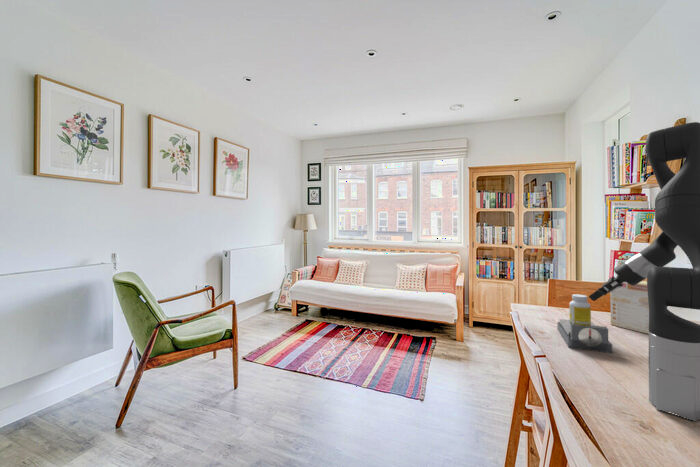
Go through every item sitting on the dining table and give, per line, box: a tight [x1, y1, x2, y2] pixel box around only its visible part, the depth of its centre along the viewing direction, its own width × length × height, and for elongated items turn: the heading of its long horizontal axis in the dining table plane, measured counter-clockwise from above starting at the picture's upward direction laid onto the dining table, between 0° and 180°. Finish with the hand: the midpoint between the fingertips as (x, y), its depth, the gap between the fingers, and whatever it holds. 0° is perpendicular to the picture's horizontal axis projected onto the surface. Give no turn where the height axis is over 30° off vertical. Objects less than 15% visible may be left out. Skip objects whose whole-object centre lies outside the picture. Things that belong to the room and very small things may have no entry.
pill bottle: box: [568, 293, 592, 325], centre depth 113 cm, size 6×6×12 cm
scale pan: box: [558, 318, 596, 336], centre depth 112 cm, size 16×11×1 cm, turn 154°
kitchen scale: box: [556, 321, 613, 354], centre depth 110 cm, size 21×12×8 cm, turn 154°
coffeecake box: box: [610, 280, 649, 335], centre depth 120 cm, size 15×7×20 cm, turn 22°
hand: (593, 296), depth 110 cm, fingers open, 8 cm apart
